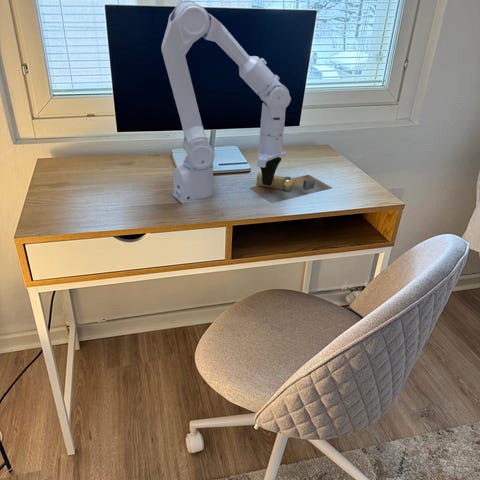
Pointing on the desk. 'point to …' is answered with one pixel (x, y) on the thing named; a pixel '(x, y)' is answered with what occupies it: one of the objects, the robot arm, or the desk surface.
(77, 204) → the desk surface
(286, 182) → the lock bar
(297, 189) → the board
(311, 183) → the block
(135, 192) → the desk surface
